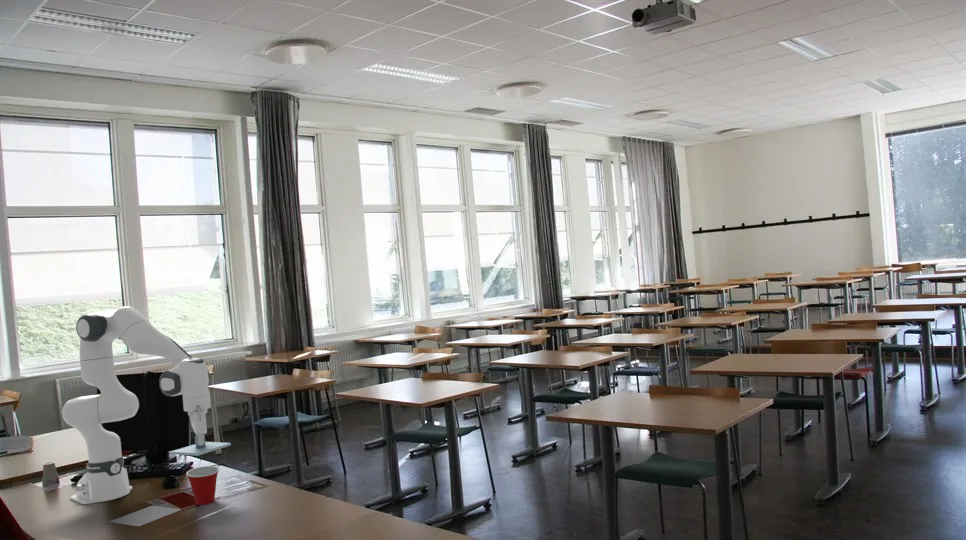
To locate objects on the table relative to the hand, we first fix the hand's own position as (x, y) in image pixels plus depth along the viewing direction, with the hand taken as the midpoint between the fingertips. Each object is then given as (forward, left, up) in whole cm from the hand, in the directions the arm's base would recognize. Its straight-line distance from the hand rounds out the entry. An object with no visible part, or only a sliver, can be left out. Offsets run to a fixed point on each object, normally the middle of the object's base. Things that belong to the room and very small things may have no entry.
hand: (200, 443), depth 240 cm
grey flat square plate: (-10, -16, -21) cm, 28 cm away
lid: (0, 0, -2) cm, 2 cm away
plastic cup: (0, 0, -21) cm, 21 cm away
